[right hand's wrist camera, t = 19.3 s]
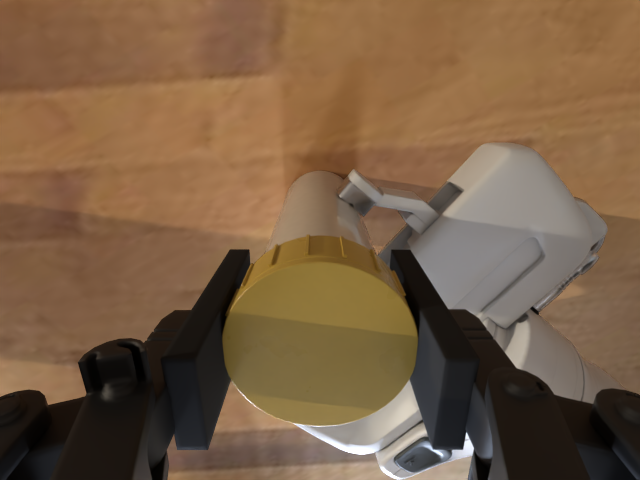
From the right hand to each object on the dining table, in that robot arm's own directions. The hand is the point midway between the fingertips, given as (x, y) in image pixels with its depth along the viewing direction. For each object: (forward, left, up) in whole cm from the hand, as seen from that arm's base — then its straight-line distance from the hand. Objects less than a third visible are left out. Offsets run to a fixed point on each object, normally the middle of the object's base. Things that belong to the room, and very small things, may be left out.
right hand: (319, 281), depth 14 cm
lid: (0, 0, +4) cm, 4 cm away
